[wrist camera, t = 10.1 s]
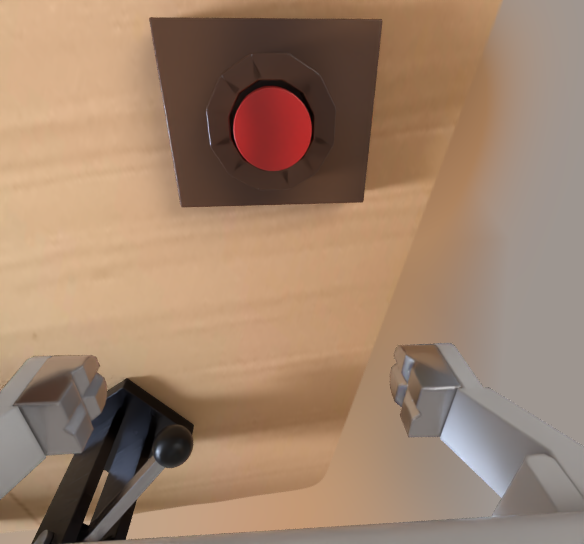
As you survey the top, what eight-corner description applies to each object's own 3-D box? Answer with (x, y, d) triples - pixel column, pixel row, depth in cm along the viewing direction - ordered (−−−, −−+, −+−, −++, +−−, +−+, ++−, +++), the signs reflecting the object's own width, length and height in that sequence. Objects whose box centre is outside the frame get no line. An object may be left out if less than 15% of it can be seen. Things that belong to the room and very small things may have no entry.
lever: (169, 410, 30) (177, 431, 27) (196, 428, 31) (205, 450, 29) (43, 545, 27) (37, 585, 24) (79, 558, 28) (76, 597, 26)
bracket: (127, 377, 33) (59, 535, 22) (194, 424, 37) (166, 578, 26) (49, 427, 35) (-46, 591, 24) (120, 466, 39) (66, 621, 28)
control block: (371, 23, 20) (394, 14, 17) (355, 192, 25) (370, 212, 22) (159, 22, 19) (137, 12, 16) (186, 196, 25) (174, 218, 21)
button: (308, 85, 18) (313, 87, 17) (307, 162, 20) (311, 170, 19) (232, 85, 18) (229, 87, 17) (238, 164, 20) (236, 172, 19)
